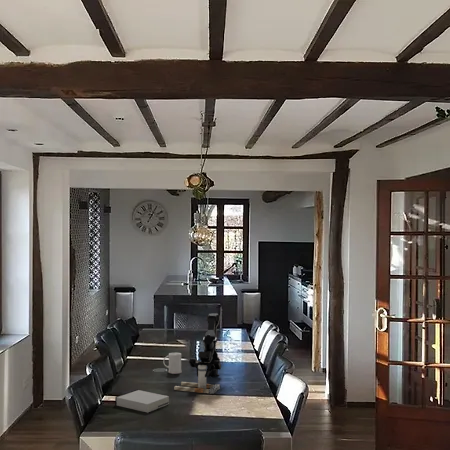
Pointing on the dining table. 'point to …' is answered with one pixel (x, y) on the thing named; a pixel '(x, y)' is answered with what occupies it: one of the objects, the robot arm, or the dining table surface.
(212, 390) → the beige u-shaped frame
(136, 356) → the dining table surface
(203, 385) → the grey capped post
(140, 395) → the disc drive
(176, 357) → the mug
